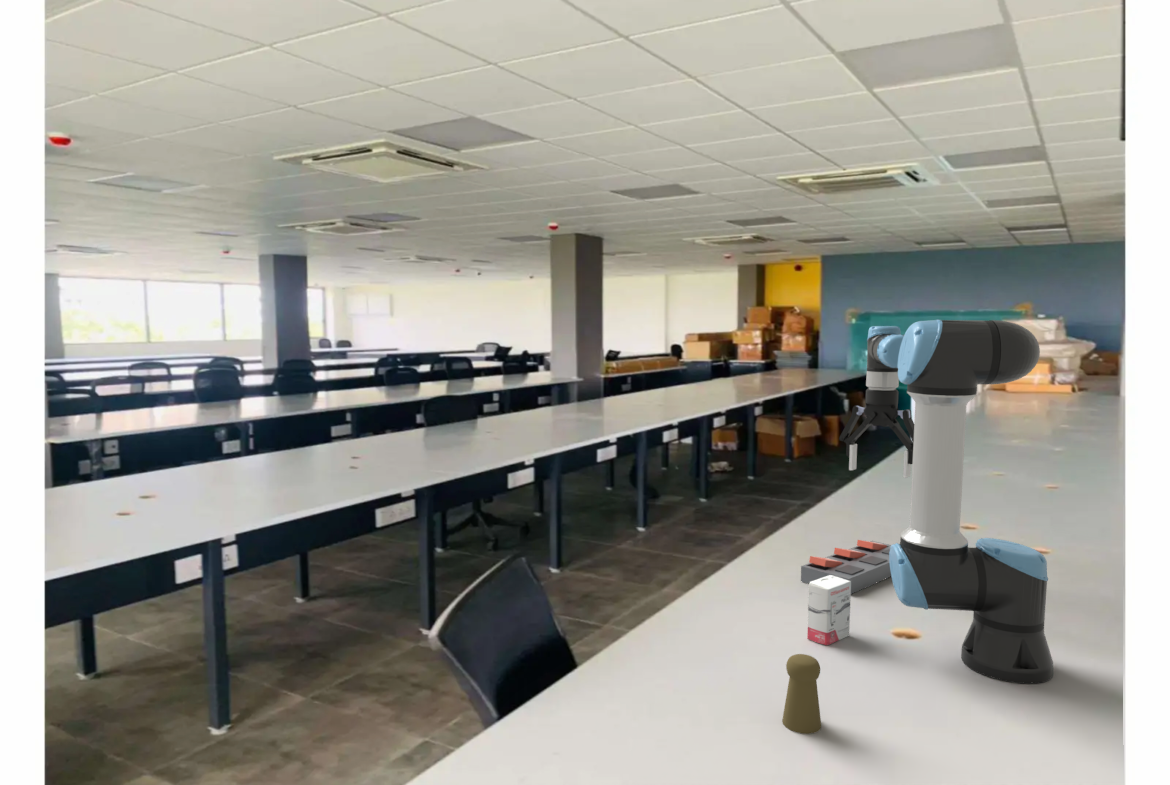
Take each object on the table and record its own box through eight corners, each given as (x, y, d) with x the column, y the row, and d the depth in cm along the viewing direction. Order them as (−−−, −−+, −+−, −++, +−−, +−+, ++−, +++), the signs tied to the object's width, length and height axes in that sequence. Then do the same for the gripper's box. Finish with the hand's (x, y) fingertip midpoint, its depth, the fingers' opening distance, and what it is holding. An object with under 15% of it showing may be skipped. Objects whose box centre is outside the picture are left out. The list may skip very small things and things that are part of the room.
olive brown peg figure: (814, 714, 126) (815, 649, 125) (826, 733, 120) (828, 665, 119) (777, 714, 125) (779, 649, 124) (788, 734, 119) (790, 666, 118)
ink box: (826, 646, 152) (828, 588, 151) (805, 639, 156) (807, 582, 155) (850, 635, 158) (852, 579, 157) (829, 628, 161) (831, 574, 160)
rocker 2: (864, 559, 201) (865, 553, 201) (849, 557, 196) (850, 550, 196) (849, 555, 204) (850, 549, 204) (833, 553, 199) (834, 547, 199)
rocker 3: (886, 551, 208) (887, 545, 209) (872, 549, 203) (873, 542, 203) (871, 547, 212) (872, 541, 212) (856, 545, 206) (857, 539, 207)
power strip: (931, 559, 210) (932, 544, 210) (848, 595, 181) (848, 577, 181) (886, 549, 220) (887, 534, 219) (800, 581, 191) (801, 564, 191)
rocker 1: (841, 568, 193) (842, 561, 193) (824, 566, 188) (825, 559, 188) (825, 564, 197) (826, 557, 197) (809, 562, 191) (810, 555, 192)
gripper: (940, 390, 183) (936, 477, 185) (840, 384, 200) (837, 464, 202) (929, 392, 178) (925, 482, 180) (827, 386, 195) (825, 468, 197)
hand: (879, 473), depth 191 cm, fingers open, 13 cm apart
